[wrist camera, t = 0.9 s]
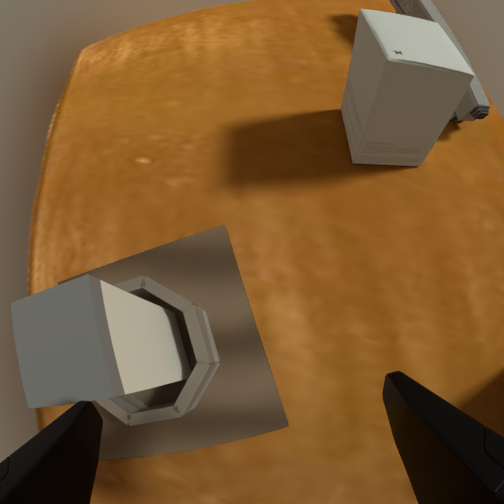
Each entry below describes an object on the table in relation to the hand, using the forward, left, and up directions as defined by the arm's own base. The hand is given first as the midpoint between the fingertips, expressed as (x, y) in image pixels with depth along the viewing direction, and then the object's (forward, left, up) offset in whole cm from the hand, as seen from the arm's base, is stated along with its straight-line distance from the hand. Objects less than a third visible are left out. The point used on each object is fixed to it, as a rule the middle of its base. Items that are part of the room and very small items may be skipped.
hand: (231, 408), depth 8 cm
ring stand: (+4, +7, -15) cm, 17 cm away
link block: (+4, +7, -14) cm, 16 cm away
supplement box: (+17, -18, -15) cm, 29 cm away
